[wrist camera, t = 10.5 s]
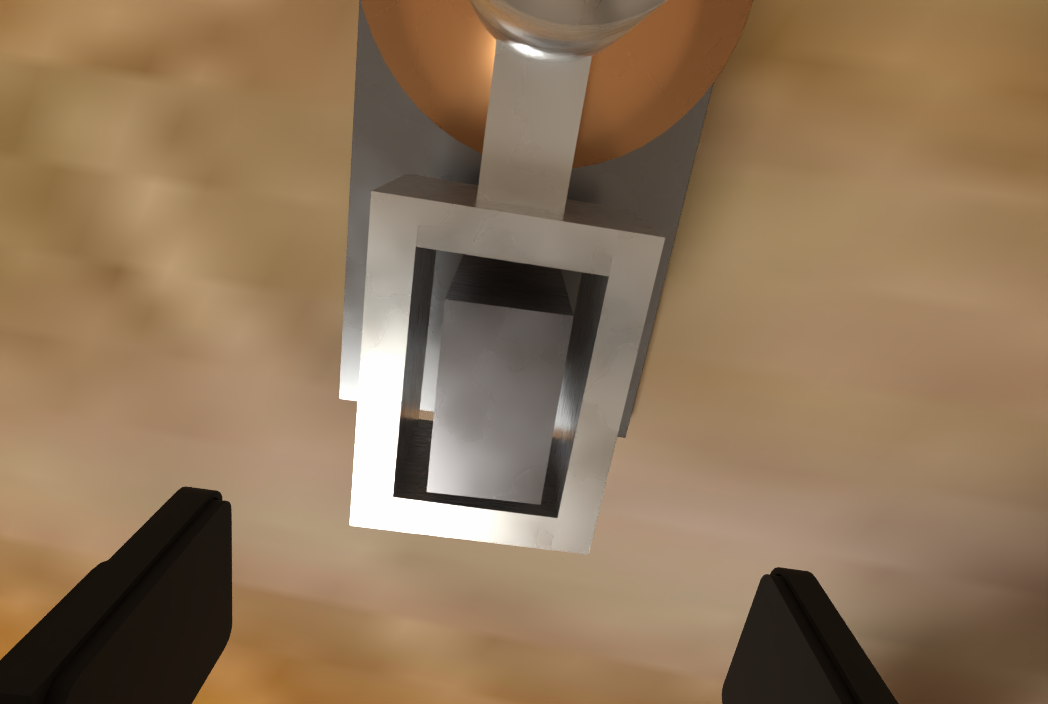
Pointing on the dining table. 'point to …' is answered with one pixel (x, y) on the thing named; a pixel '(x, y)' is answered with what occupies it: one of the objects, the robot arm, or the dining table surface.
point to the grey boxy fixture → (515, 222)
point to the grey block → (499, 379)
